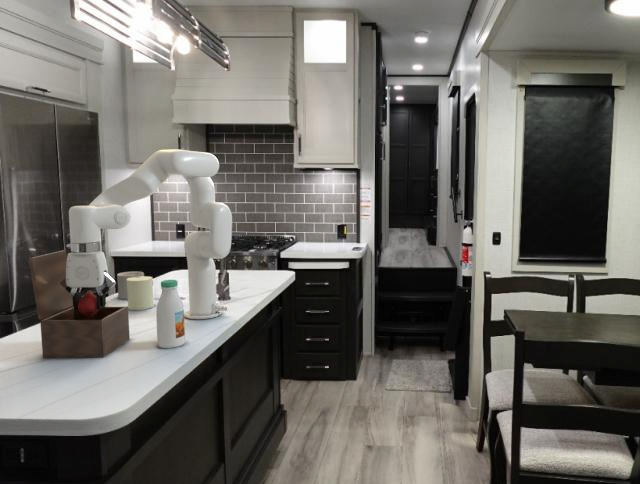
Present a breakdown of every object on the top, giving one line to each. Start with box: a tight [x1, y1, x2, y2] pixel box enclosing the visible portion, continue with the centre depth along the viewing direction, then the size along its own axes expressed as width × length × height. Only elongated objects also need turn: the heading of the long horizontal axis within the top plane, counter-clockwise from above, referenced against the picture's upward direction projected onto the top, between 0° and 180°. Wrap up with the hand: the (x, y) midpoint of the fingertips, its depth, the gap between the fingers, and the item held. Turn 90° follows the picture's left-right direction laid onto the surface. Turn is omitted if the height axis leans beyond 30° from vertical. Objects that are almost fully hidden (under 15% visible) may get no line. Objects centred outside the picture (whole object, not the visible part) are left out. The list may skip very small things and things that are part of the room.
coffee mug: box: [116, 271, 145, 300], centre depth 211 cm, size 13×10×10 cm
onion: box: [78, 290, 100, 317], centre depth 146 cm, size 6×6×8 cm
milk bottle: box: [156, 279, 186, 349], centre depth 151 cm, size 8×8×20 cm
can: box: [127, 275, 155, 311], centre depth 194 cm, size 9×9×12 cm
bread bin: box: [39, 306, 131, 359], centre depth 147 cm, size 17×16×11 cm
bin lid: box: [28, 249, 74, 320], centre depth 145 cm, size 17×16×1 cm
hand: (89, 307), depth 146 cm, fingers closed on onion, 5 cm apart
